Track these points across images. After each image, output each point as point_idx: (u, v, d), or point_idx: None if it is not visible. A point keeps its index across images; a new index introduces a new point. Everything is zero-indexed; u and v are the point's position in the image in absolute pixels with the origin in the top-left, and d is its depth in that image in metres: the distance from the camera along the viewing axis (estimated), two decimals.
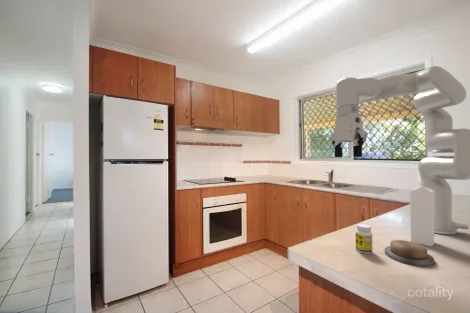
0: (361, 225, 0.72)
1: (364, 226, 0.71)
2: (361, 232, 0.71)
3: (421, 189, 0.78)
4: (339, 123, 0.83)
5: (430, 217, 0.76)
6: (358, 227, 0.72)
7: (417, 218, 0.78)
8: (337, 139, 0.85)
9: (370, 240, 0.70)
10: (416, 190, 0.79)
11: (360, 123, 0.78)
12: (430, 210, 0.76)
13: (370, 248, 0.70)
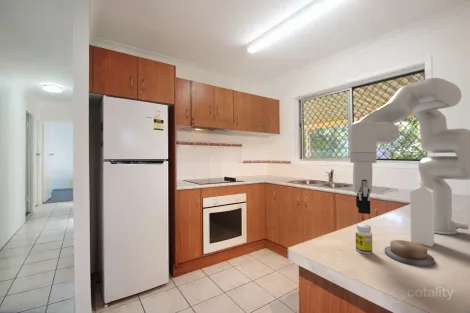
0: (361, 225, 0.72)
1: (364, 226, 0.71)
2: (361, 232, 0.71)
3: (421, 189, 0.78)
4: None
5: (430, 217, 0.76)
6: (358, 227, 0.72)
7: (418, 218, 0.78)
8: None
9: (370, 240, 0.70)
10: (416, 190, 0.79)
11: None
12: (430, 210, 0.76)
13: (370, 248, 0.70)
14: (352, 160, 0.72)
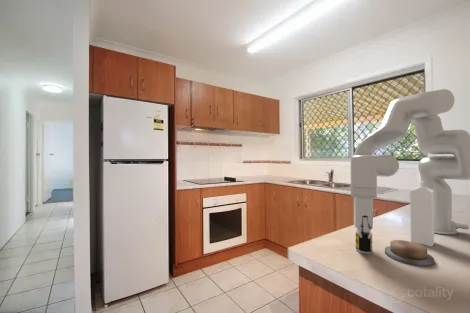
0: None
1: None
2: None
3: (421, 189, 0.78)
4: None
5: (430, 217, 0.76)
6: (358, 227, 0.72)
7: (417, 218, 0.78)
8: None
9: None
10: (416, 190, 0.79)
11: None
12: (430, 210, 0.76)
13: None
14: (352, 194, 0.72)
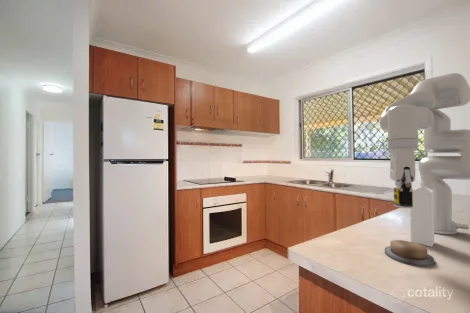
0: None
1: (404, 180, 0.67)
2: None
3: (421, 189, 0.78)
4: None
5: (430, 217, 0.76)
6: (397, 182, 0.68)
7: (418, 218, 0.78)
8: None
9: None
10: (416, 190, 0.79)
11: None
12: (430, 210, 0.76)
13: None
14: (391, 147, 0.68)
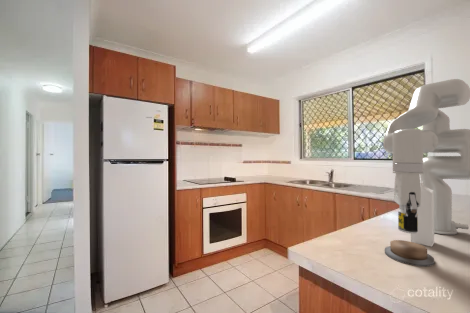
0: None
1: (409, 205, 0.67)
2: None
3: (421, 189, 0.78)
4: None
5: (430, 217, 0.76)
6: (402, 206, 0.68)
7: (418, 218, 0.78)
8: None
9: None
10: None
11: None
12: (430, 210, 0.76)
13: None
14: (396, 171, 0.68)
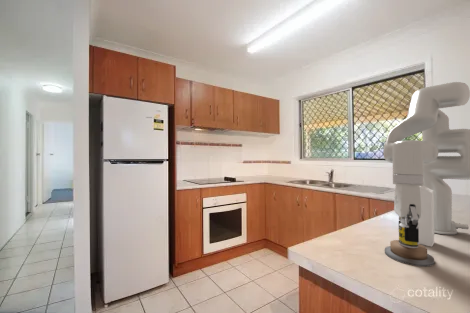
0: None
1: None
2: None
3: (421, 189, 0.78)
4: None
5: (430, 217, 0.76)
6: (403, 220, 0.68)
7: None
8: None
9: None
10: None
11: None
12: (430, 210, 0.76)
13: (416, 242, 0.66)
14: (396, 182, 0.68)
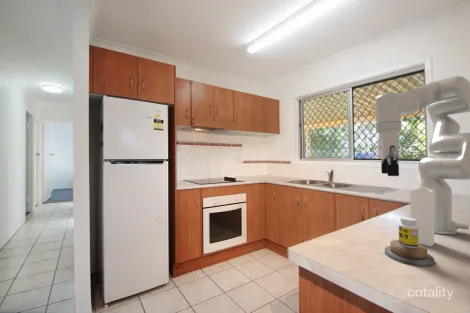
0: (405, 218, 0.68)
1: (410, 219, 0.67)
2: (406, 225, 0.67)
3: (421, 189, 0.78)
4: None
5: (430, 217, 0.76)
6: (402, 220, 0.68)
7: (418, 218, 0.78)
8: None
9: (416, 234, 0.66)
10: (416, 190, 0.79)
11: None
12: (430, 210, 0.76)
13: (416, 242, 0.66)
14: (379, 130, 0.79)
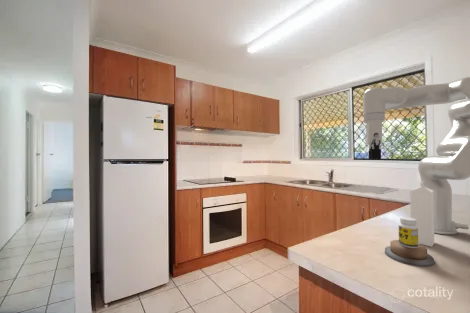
0: (405, 218, 0.68)
1: (409, 219, 0.67)
2: (406, 225, 0.67)
3: (421, 189, 0.78)
4: None
5: (430, 217, 0.76)
6: (402, 220, 0.68)
7: (418, 218, 0.78)
8: None
9: (416, 234, 0.66)
10: (416, 190, 0.79)
11: None
12: (430, 210, 0.76)
13: (416, 242, 0.66)
14: (365, 120, 0.91)
